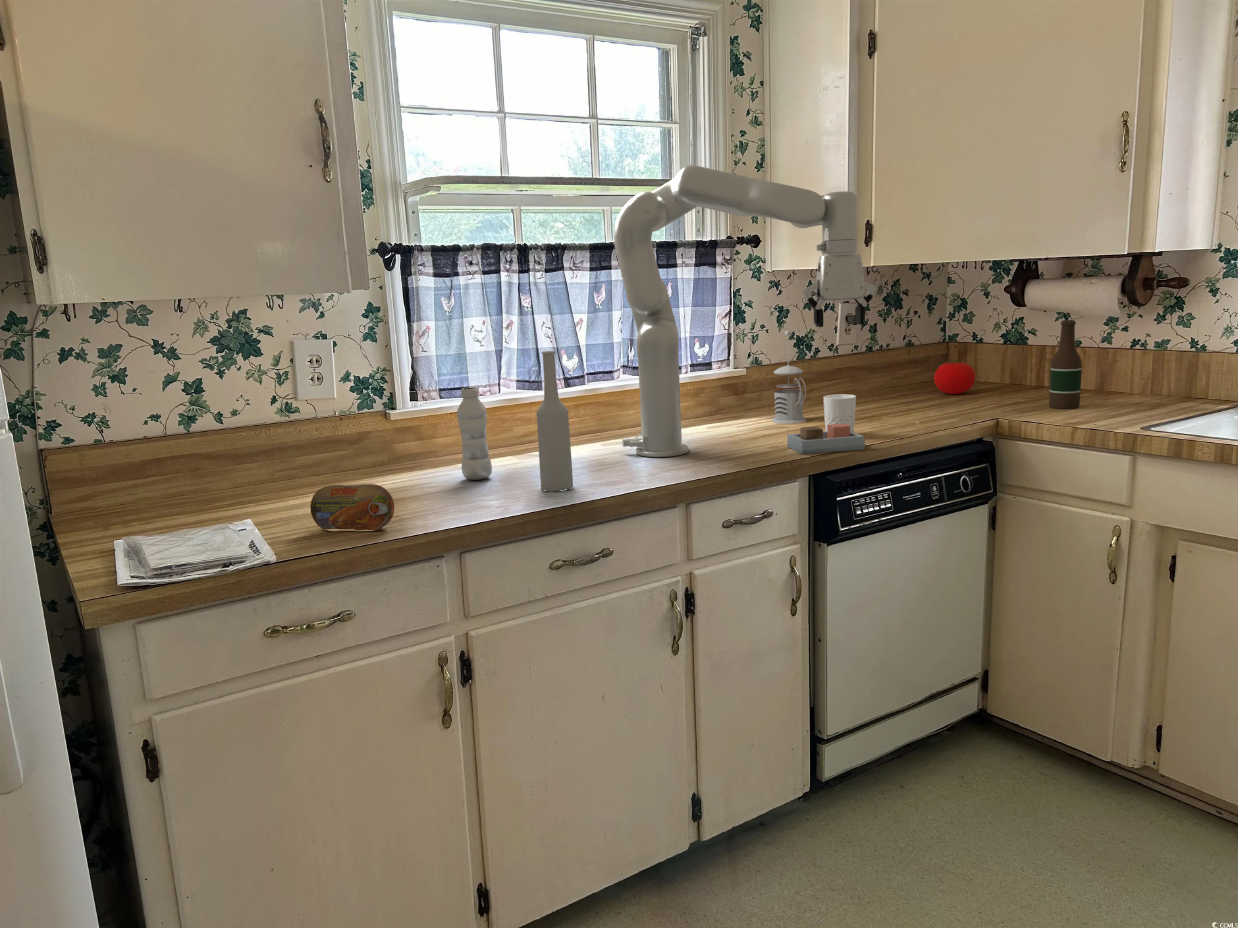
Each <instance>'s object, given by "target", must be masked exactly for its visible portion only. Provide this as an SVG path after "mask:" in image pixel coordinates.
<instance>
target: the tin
mask: <svg viewBox="0 0 1238 928" xmlns="http://www.w3.org/2000/svg"><path fill="white" fill-rule="evenodd" d="M309 507H310V508H309V509H310V515H311V518H312V519H313V521H314V522H315V524H316V525H317V526H318V527H320V529H322V530H323V529H355V530H366V529H367V530H377V531H380V530H381V529H382V528H384V527H385V526H387V525H388V524H389V523H390V522H391V521H392V519H393V518H394V513H395V503H394V499H393V497H392V494H391V493H390V492H389V491H388V490H387V489H386V488H385V487H383V486H382V485H379V484H375V483H365V484H364V483H363V484H362V483H361V484H358V483H356V484H333V485H332V484H331V485H328V486H323V487H321V488H320V489H318V490H317V491H316V492H314V494H313V496H312V498H311V501H310V506H309Z"/></svg>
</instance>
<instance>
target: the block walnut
mask: <svg viewBox="0 0 1238 928" xmlns="http://www.w3.org/2000/svg"><path fill="white" fill-rule="evenodd" d="M799 429H800V430H799V431H800V438H802V439H804V440H813V439H823V431H824V429H823V428H821V427H819V426H803V427H800V428H799Z"/></svg>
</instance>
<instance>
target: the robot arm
mask: <svg viewBox="0 0 1238 928" xmlns="http://www.w3.org/2000/svg"><path fill="white" fill-rule="evenodd" d="M697 207H699V208H703V209H707V210H713V211H718V212H721V213H726V214H731V215H735V216H740V217H762V218H768V219H773V220H778V221H783V222H788V223H790V224H791V225H792V226H793V227H796V228H799V229H808V228H812V227H813V228H814V227H817V226H821V229H822V231H821V233H822V235H821V236H822V237H821V238H822V239H821V240H822V241H821V243H820V244H817V245H816V251H818V252H821V254H822V255H821V256H819V258H818V264H817V271H816V279H815V281H816V282H814V283H812V284H811V285H809V286H807V287H805V288H804V289H802V291H801V293H802V295H803V298H804V299H805V302H806V303H807V304H808V305H809V306H810V307H811V308H812V310H813V324H815V327H816V328H823V327H824V309H823V308H822V307H823V305H824V304H825V303H826V301H845V300H853V302H855V304H856V305H857V306H855V308H854V324H855V325H862V326H863V325H864V321H865V319H866V307H867V306H868V304H869V303H870V302H871V300H872V299H873V296H874V294H875V292H876V290H877V286H876V285H874V284H872V283H870V282H868V281H866V280H865V273H864V267H863V261H862V260H863V259H862V257H861V256H862V255H861V254H860V253H859V254H858V251H857V250H858V247H857V246H858V243H857V242H858V240H857V238H858V237H857V236H858V235H857V234H858V233H857V230H858V229H857V228H858V218H857V217H858V199H857V195H856V194H855V192H854V191H853V192H852V191H849V190H848V191H845V190H844V191H832V192H827V193H826V194H824V195H823V194H822V195H820V194H819V193H817V191H814V190H810V189H807V188H802V187H797V186H792V185H788V184H784V183H778V182H773V181H767V180H762V179H759V178H755V177H749V176H746V175H745V176H744V175H740V174H735V173H732V172H727V171H722V170H717V169H713V168H708V167H703V166H700V165H693V164H691V165H686V166H684V167H682V168H681V169H680V170H679V171H678V172H677V174H676V175H675V177H674V178H672V179H671V180H670V181H667V182H665V183H664V184H663V185H662V186H659V187H657V188H656V189H654V190H653V191H643V192H642V191H641V192H639V193H637V194H636V195H634V196H633V197H631V198H630V200H628V201H627V202H626V203H625V205H624V206H623V207H622V209H621V211H620V212H619V214H618V216H617V218H616V222H615V225H614V231H613V232H614V233H613V234H614V235H613V236H614V238H613V239H614V240H613V241H614V248H615V252H616V257H617V260H618V265H619V270H620V274H621V278H622V281H623V285H624V290H625V298H626V301H627V303H628V306H629V307H630V308H631V312H632V315H633V316H632V317H633V319H634V323H635V326H636V330H637V337H636V353H637V354H636V356H637V365H638V367H637V368H638V384H639V385H638V386H639V387H638V388H639V403H640V404H639V406H640V426H641V430H640V431H641V432H639V433H638V436H635V437H634V438H632V437H631V438H630V437H629V438H622V440H621V443H622V447H624V448H625V447H626V448H627V447H629V448H634V447H636V449H635V452H636V453H635V454H636V455H638V456H641V457H647V458H665V457H666V458H667V457H676V456H682V455H684V454H686V453H688V452H689V451H690V450H689V446H688V445H687V444H684V443H683V442H682V441H683V438H682V437H683V436H682V433H683V432H682V413H681V412H682V411H681V410H682V409H681V405H682V404H681V387H680V386H681V385H680V384H681V383H680V382H681V381H680V363H679V362H680V360H679V358H680V357H679V352H680V351H679V346H680V345H679V339H680V338H679V329H678V326H677V323H676V319H675V316H674V315H675V314H674V312H673V311H674V310H673V307H672V303H671V301H670V295H669V291H668V289H667V285H666V284H665V282H664V280H663V279H662V278H661V275H660V271H659V267H658V263H657V259H656V255H655V250H654V247H653V242H652V238H653V236H652V235H653V233H654V232H657V231H659V230H661V229H663V228H665V227H666V226H668V225H669V224H671V223H672V222H675V221H676V220H678V219H679V218H682V217H683V216H685V215H686V214H687V213H688V214H689V212H692V211H693V210H694V209H696V208H697ZM865 289H866V290H867V291H866V294H865ZM814 291H815V296H816V299H814V298H813V296H812V292H814Z"/></svg>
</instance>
